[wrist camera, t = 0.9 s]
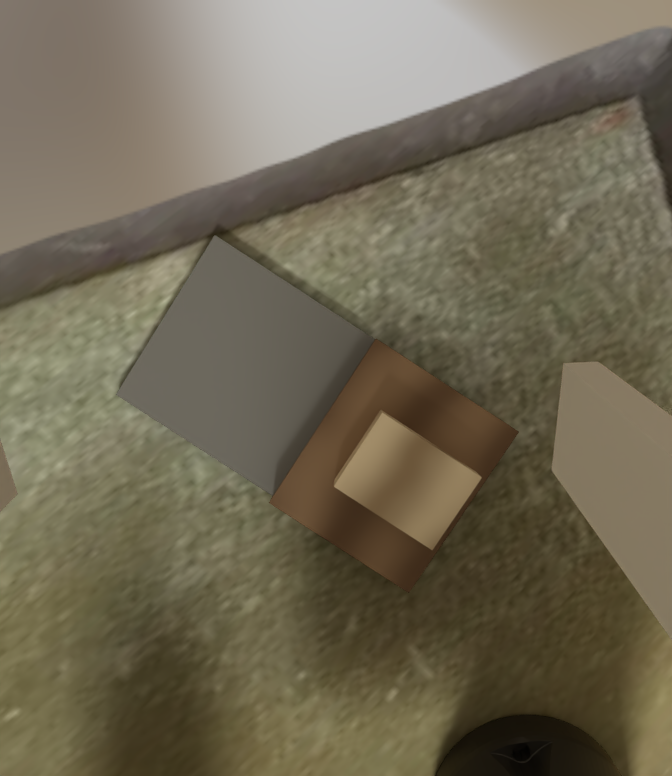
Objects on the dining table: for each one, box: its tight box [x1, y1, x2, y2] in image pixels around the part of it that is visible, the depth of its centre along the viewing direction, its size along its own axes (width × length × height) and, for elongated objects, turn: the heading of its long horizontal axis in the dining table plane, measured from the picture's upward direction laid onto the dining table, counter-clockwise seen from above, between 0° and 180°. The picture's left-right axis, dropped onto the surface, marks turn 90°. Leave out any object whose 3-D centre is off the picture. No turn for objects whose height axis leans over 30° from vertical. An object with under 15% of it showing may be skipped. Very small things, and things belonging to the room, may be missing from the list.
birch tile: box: [334, 410, 482, 550], centre depth 38 cm, size 8×6×2 cm
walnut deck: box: [269, 339, 519, 593], centre depth 40 cm, size 12×14×2 cm
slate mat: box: [116, 235, 375, 496], centre depth 41 cm, size 14×14×1 cm
